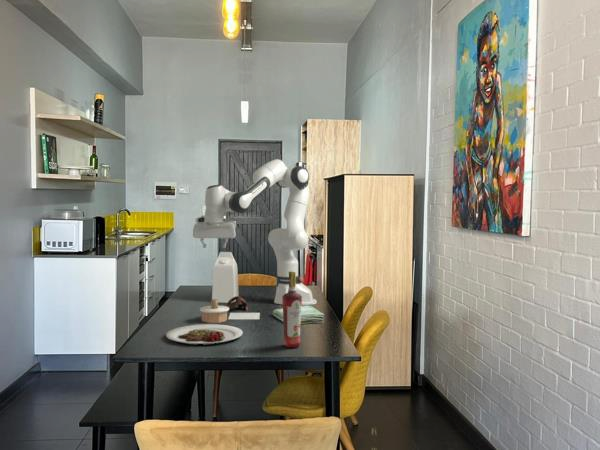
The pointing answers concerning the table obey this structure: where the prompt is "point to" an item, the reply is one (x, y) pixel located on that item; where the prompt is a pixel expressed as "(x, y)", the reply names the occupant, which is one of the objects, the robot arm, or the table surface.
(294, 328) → the liquor
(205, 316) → the bowl
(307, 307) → the towel
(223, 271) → the milk
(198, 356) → the table surface
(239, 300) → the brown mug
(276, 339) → the table surface
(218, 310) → the lid
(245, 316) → the mat
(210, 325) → the plated food
